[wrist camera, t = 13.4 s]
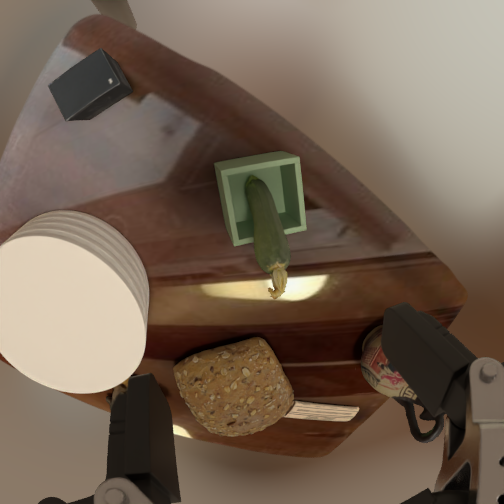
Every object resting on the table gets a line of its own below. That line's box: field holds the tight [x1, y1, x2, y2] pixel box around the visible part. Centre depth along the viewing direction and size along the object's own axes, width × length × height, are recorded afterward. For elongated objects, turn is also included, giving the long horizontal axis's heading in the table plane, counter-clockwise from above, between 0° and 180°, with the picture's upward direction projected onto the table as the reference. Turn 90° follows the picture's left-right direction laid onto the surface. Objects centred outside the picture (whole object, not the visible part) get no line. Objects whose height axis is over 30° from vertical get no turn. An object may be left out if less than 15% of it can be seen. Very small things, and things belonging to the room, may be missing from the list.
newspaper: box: [282, 401, 359, 421], centre depth 76 cm, size 24×7×2 cm, turn 62°
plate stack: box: [0, 210, 149, 393], centre depth 43 cm, size 28×28×12 cm
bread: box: [173, 337, 294, 436], centre depth 58 cm, size 24×21×12 cm
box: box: [48, 48, 133, 121], centre depth 33 cm, size 8×6×11 cm
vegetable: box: [245, 175, 291, 299], centre depth 42 cm, size 4×4×20 cm
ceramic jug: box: [361, 325, 446, 443], centre depth 57 cm, size 17×15×30 cm
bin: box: [214, 151, 307, 246], centre depth 45 cm, size 11×11×8 cm
